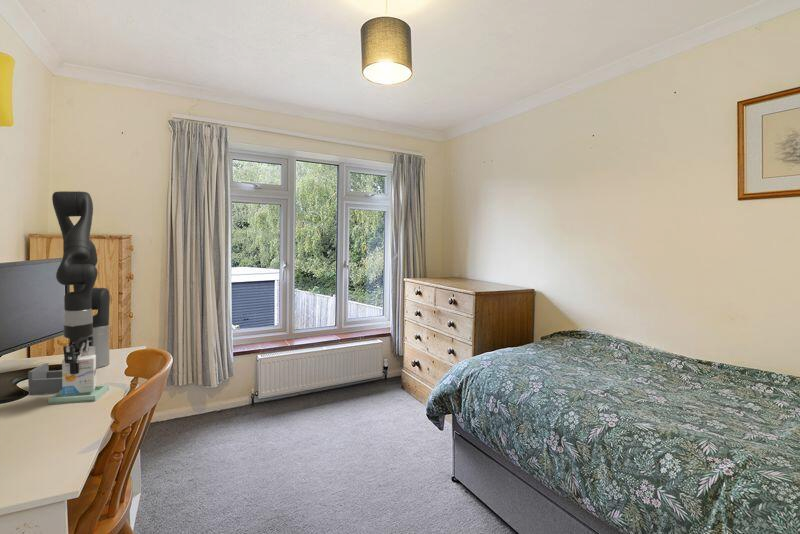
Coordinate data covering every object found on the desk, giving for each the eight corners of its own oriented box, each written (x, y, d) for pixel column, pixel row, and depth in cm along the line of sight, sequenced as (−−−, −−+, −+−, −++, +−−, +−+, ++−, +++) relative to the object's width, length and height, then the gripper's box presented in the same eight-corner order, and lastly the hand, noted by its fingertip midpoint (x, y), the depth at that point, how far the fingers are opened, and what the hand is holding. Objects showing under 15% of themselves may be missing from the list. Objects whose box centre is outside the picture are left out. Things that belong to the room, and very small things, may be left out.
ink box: (61, 395, 126) (61, 352, 125) (65, 390, 130) (64, 348, 129) (94, 391, 130) (93, 349, 129) (96, 386, 134) (96, 345, 134)
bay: (45, 384, 139) (45, 363, 139) (85, 382, 143) (85, 361, 142) (28, 394, 130) (28, 371, 130) (71, 391, 134) (71, 369, 133)
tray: (65, 392, 133) (65, 387, 133) (108, 389, 137) (108, 384, 137) (48, 404, 123) (48, 399, 123) (95, 401, 127) (95, 395, 127)
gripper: (76, 318, 134) (77, 364, 135) (52, 327, 120) (53, 379, 122) (101, 317, 136) (102, 363, 137) (80, 326, 123) (81, 377, 124)
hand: (79, 370), depth 130 cm, fingers closed on ink box, 5 cm apart
